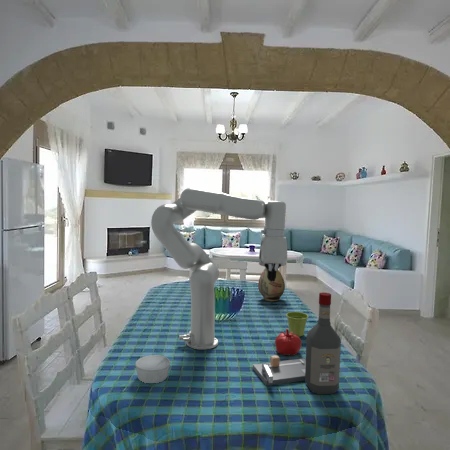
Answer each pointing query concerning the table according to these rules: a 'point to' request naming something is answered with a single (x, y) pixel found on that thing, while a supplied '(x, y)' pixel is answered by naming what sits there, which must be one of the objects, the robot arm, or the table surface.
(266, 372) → the silver metal bar
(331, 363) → the liquor
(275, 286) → the ceramic jug
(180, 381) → the table surface
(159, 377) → the ramekin
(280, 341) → the pomegranate
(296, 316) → the plant pot
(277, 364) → the fader knob
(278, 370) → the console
